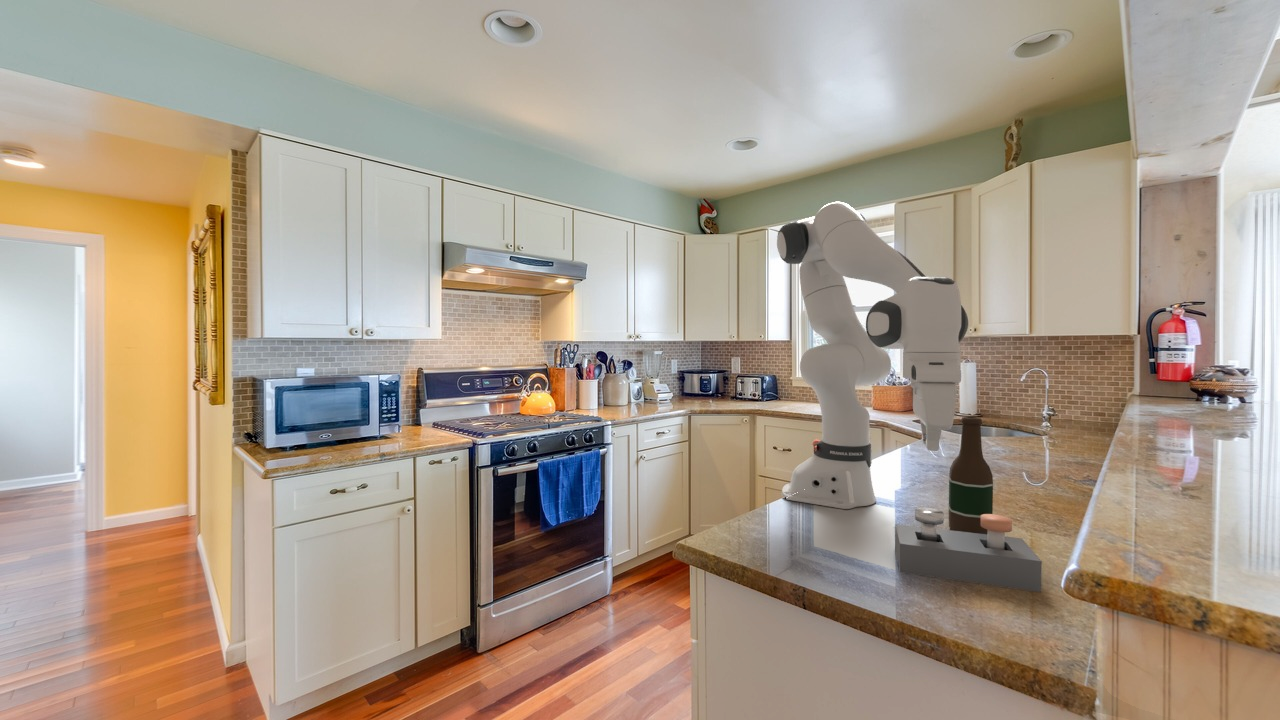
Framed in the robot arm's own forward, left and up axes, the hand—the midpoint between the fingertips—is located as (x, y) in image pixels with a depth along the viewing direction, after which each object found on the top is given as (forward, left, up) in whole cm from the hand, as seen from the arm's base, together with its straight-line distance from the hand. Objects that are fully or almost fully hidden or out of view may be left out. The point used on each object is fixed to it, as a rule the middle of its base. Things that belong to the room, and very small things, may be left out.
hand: (930, 447), depth 91 cm
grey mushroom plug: (0, 0, -18) cm, 18 cm away
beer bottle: (+10, +20, -21) cm, 31 cm away
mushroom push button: (+10, 0, -18) cm, 20 cm away
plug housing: (+5, 0, -21) cm, 22 cm away
